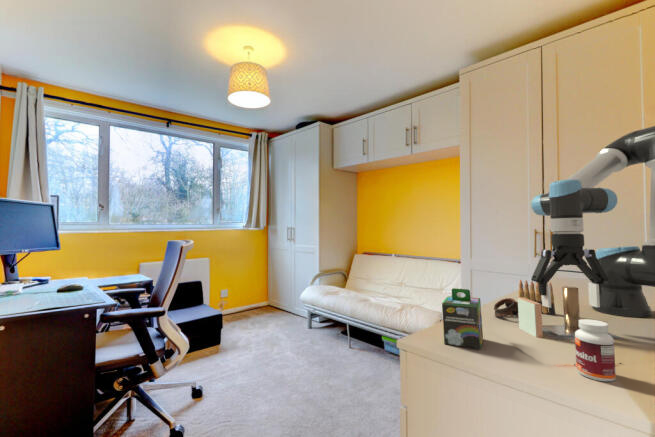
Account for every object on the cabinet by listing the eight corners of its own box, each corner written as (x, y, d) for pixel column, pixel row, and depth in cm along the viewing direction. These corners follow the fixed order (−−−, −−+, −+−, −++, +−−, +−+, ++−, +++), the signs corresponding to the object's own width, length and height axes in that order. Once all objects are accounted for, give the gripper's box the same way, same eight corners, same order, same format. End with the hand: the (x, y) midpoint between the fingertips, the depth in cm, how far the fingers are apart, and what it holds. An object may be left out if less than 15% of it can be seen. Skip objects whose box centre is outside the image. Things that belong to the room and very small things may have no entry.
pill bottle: (569, 369, 66) (566, 318, 66) (594, 367, 66) (591, 317, 67) (597, 383, 60) (593, 327, 60) (625, 381, 60) (621, 325, 61)
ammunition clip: (518, 312, 110) (516, 279, 110) (520, 311, 111) (518, 279, 111) (554, 318, 102) (552, 282, 103) (555, 317, 103) (553, 282, 104)
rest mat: (587, 327, 92) (586, 324, 92) (624, 341, 80) (624, 338, 80) (527, 328, 93) (527, 325, 93) (556, 342, 81) (556, 339, 81)
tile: (524, 330, 91) (522, 297, 91) (542, 340, 83) (540, 303, 83) (518, 330, 91) (517, 297, 91) (536, 340, 83) (534, 303, 83)
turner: (585, 326, 90) (583, 284, 91) (610, 336, 82) (607, 289, 83) (538, 327, 91) (536, 285, 91) (558, 336, 83) (555, 290, 83)
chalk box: (483, 339, 85) (480, 286, 86) (481, 350, 77) (478, 292, 78) (448, 334, 90) (446, 284, 90) (443, 344, 82) (440, 289, 82)
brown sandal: (534, 327, 95) (519, 305, 95) (503, 336, 100) (489, 314, 100) (529, 309, 105) (516, 288, 106) (502, 317, 110) (489, 298, 110)
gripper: (532, 233, 84) (535, 310, 83) (622, 232, 84) (627, 309, 83) (516, 233, 92) (518, 303, 91) (599, 232, 91) (602, 302, 90)
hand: (570, 306), depth 87 cm, fingers open, 13 cm apart
